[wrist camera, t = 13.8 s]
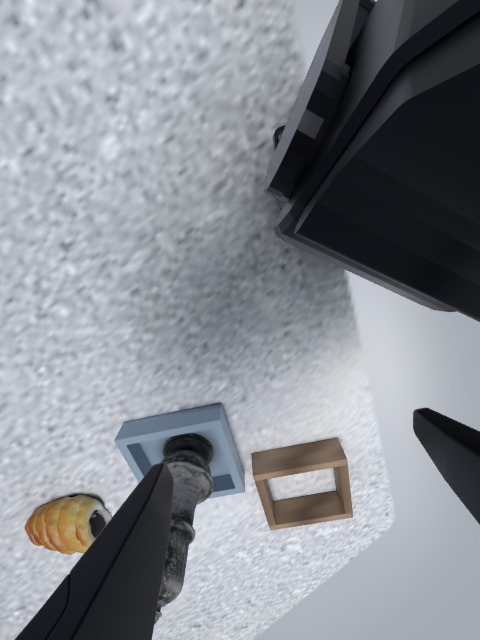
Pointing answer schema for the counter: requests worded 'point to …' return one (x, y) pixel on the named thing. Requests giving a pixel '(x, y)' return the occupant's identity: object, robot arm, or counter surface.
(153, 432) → the slate tray
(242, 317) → the counter surface
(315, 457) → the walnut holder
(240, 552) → the counter surface
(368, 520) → the counter surface
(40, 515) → the pastry
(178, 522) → the grey stone chess piece
